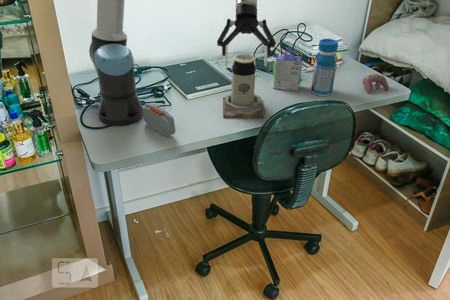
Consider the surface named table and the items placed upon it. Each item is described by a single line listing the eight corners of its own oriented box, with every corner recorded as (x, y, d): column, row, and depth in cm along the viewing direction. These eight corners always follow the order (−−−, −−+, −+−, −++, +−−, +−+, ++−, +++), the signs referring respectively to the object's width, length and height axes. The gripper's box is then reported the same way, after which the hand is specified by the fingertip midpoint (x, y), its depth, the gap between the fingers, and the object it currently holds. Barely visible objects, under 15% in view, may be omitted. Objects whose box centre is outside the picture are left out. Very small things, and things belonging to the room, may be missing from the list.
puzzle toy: (274, 77, 182) (275, 64, 178) (272, 72, 186) (273, 59, 183) (288, 78, 182) (289, 64, 179) (286, 72, 186) (287, 59, 183)
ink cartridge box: (299, 85, 175) (303, 50, 168) (298, 91, 171) (302, 55, 163) (274, 83, 177) (277, 48, 169) (273, 89, 172) (276, 53, 165)
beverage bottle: (318, 98, 166) (325, 46, 155) (306, 89, 173) (312, 39, 162) (337, 94, 169) (345, 43, 158) (324, 85, 175) (331, 36, 165)
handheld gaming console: (176, 137, 141) (175, 115, 137) (169, 140, 140) (168, 118, 135) (149, 121, 150) (147, 100, 145) (141, 124, 148) (139, 102, 144)
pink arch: (382, 90, 176) (381, 73, 175) (390, 90, 172) (388, 72, 171) (361, 94, 173) (359, 76, 172) (368, 93, 169) (367, 75, 168)
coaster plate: (223, 117, 153) (223, 108, 151) (222, 99, 164) (223, 90, 162) (263, 117, 153) (264, 108, 151) (260, 99, 164) (261, 91, 163)
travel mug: (233, 99, 162) (234, 52, 152) (254, 101, 161) (257, 54, 151) (229, 109, 155) (230, 60, 145) (251, 112, 154) (254, 63, 144)
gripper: (280, 14, 161) (280, 69, 157) (211, 12, 161) (210, 68, 156) (283, 3, 154) (283, 60, 149) (211, 1, 153) (209, 59, 149)
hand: (246, 64), depth 153 cm, fingers open, 13 cm apart
